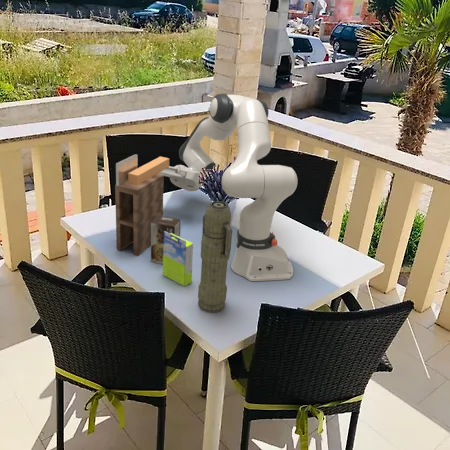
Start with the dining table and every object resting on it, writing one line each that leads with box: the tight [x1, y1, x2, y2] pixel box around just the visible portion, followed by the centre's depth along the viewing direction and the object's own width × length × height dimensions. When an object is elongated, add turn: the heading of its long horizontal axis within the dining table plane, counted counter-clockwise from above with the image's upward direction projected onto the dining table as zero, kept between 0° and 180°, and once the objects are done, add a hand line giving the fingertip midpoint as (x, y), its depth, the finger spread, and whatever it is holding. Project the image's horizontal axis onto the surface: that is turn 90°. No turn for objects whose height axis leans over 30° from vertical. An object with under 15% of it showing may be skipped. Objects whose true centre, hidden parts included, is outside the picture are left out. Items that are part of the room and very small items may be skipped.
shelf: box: [114, 174, 165, 257], centre depth 192 cm, size 18×9×26 cm, turn 156°
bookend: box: [115, 153, 139, 186], centre depth 184 cm, size 12×1×8 cm, turn 156°
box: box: [162, 231, 194, 287], centre depth 174 cm, size 10×4×17 cm, turn 51°
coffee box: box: [150, 215, 181, 265], centre depth 185 cm, size 9×6×16 cm
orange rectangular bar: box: [128, 156, 170, 185], centre depth 191 cm, size 22×4×4 cm, turn 156°
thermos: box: [197, 200, 233, 313], centre depth 158 cm, size 9×12×35 cm
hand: (166, 168), depth 203 cm, fingers open, 8 cm apart
